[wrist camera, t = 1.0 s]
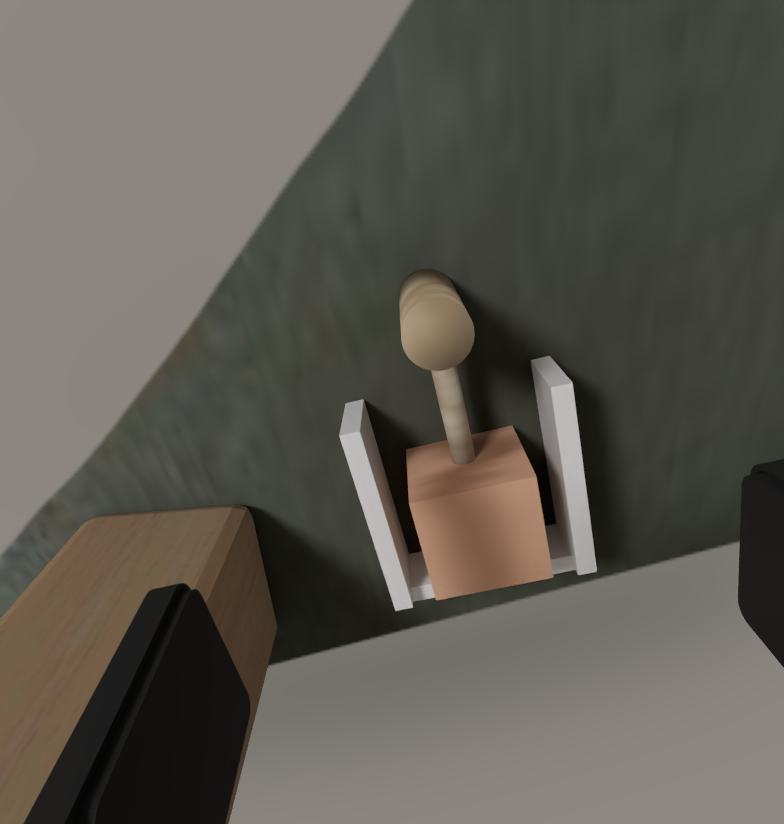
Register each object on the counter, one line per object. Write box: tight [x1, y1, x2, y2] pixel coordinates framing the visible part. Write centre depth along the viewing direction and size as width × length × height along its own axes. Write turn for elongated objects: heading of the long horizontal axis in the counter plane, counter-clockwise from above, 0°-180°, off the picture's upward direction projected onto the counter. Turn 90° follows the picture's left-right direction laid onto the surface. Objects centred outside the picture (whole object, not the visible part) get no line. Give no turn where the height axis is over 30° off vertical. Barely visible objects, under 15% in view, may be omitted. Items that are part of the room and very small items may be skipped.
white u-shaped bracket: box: [339, 356, 597, 611], centre depth 30 cm, size 11×12×4 cm
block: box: [399, 269, 554, 600], centre depth 27 cm, size 6×15×7 cm, turn 14°
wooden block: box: [0, 505, 277, 824], centre depth 25 cm, size 10×10×20 cm
